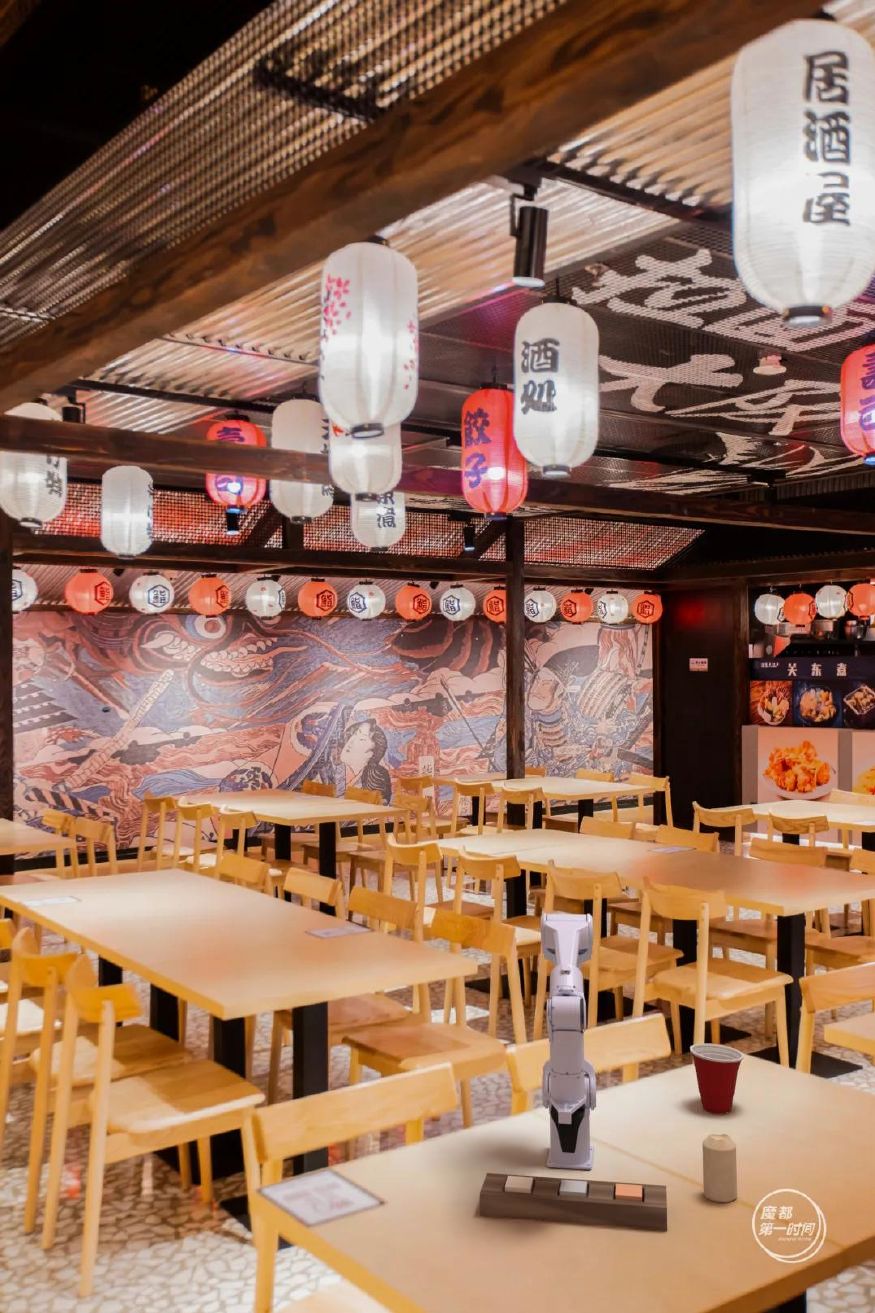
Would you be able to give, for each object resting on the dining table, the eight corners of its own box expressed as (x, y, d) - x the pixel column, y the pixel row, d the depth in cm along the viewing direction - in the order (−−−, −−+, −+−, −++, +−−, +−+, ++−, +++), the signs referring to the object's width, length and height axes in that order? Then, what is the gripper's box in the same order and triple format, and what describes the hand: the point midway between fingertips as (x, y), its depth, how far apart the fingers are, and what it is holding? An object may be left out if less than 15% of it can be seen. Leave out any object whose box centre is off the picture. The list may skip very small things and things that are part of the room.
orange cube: (616, 1205, 179) (616, 1183, 179) (642, 1207, 178) (642, 1185, 179) (615, 1217, 175) (615, 1195, 175) (642, 1219, 174) (641, 1197, 174)
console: (487, 1194, 185) (486, 1173, 185) (666, 1207, 179) (666, 1186, 180) (479, 1215, 177) (479, 1193, 178) (667, 1230, 172) (666, 1208, 172)
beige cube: (508, 1197, 183) (508, 1176, 183) (533, 1199, 182) (532, 1177, 182) (505, 1208, 179) (504, 1187, 179) (530, 1210, 178) (530, 1188, 178)
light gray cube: (562, 1201, 181) (561, 1179, 181) (587, 1203, 180) (587, 1181, 180) (559, 1212, 177) (559, 1191, 177) (585, 1215, 176) (585, 1192, 176)
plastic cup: (751, 1119, 217) (750, 1058, 217) (697, 1119, 217) (696, 1058, 218) (737, 1099, 228) (736, 1041, 228) (685, 1099, 228) (684, 1041, 228)
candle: (731, 1187, 186) (730, 1128, 187) (741, 1202, 181) (740, 1141, 181) (699, 1188, 186) (698, 1129, 187) (708, 1203, 181) (707, 1142, 181)
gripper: (547, 1053, 190) (548, 1132, 189) (539, 1083, 175) (540, 1168, 175) (587, 1055, 188) (589, 1135, 188) (583, 1085, 174) (584, 1171, 174)
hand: (568, 1151), depth 181 cm, fingers closed
